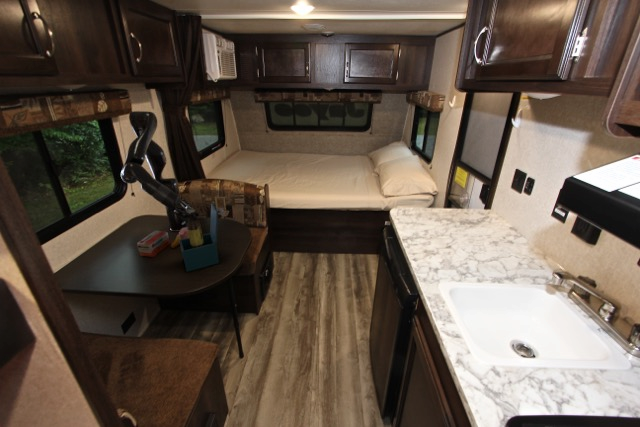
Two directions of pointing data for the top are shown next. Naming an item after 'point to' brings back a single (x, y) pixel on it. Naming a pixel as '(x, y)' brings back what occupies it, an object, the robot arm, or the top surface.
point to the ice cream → (180, 237)
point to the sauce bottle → (195, 231)
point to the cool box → (199, 253)
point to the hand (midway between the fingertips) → (196, 217)
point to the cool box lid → (215, 221)
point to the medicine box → (153, 243)
